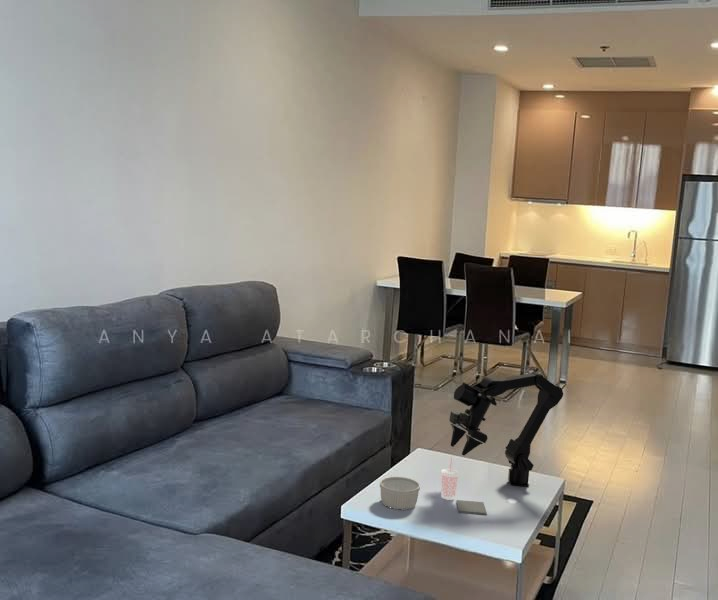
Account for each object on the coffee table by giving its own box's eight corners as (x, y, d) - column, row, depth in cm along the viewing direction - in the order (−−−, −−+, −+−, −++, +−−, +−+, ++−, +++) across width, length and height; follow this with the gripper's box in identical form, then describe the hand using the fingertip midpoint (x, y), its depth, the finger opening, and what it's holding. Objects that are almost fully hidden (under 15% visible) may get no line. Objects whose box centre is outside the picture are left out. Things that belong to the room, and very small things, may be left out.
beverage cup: (438, 499, 248) (441, 459, 246) (439, 492, 254) (443, 453, 252) (456, 501, 247) (460, 461, 245) (457, 495, 253) (460, 455, 251)
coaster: (483, 503, 246) (483, 502, 246) (486, 514, 237) (486, 513, 237) (456, 501, 247) (456, 499, 246) (458, 512, 238) (458, 510, 238)
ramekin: (370, 502, 241) (371, 482, 240) (395, 492, 251) (396, 473, 250) (402, 515, 233) (403, 494, 232) (426, 504, 243) (428, 484, 242)
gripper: (448, 395, 265) (428, 433, 264) (471, 409, 247) (450, 450, 247) (472, 407, 268) (452, 445, 268) (497, 422, 251) (476, 463, 250)
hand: (457, 450), depth 258 cm, fingers open, 9 cm apart
